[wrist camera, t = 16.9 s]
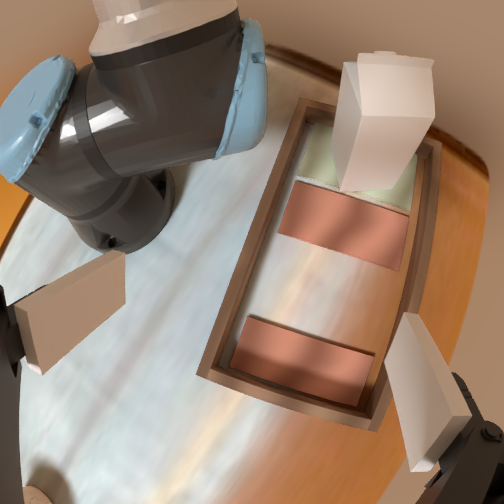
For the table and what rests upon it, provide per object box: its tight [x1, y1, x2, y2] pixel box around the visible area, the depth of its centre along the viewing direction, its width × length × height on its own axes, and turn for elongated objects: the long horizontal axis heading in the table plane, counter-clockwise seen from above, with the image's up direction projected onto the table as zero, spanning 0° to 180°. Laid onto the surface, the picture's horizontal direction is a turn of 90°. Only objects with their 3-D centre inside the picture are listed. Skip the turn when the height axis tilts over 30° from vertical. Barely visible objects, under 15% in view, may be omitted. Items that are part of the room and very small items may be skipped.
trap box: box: [196, 98, 442, 432], centre depth 34 cm, size 20×36×4 cm, turn 160°
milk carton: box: [331, 51, 435, 192], centre depth 29 cm, size 7×7×19 cm
